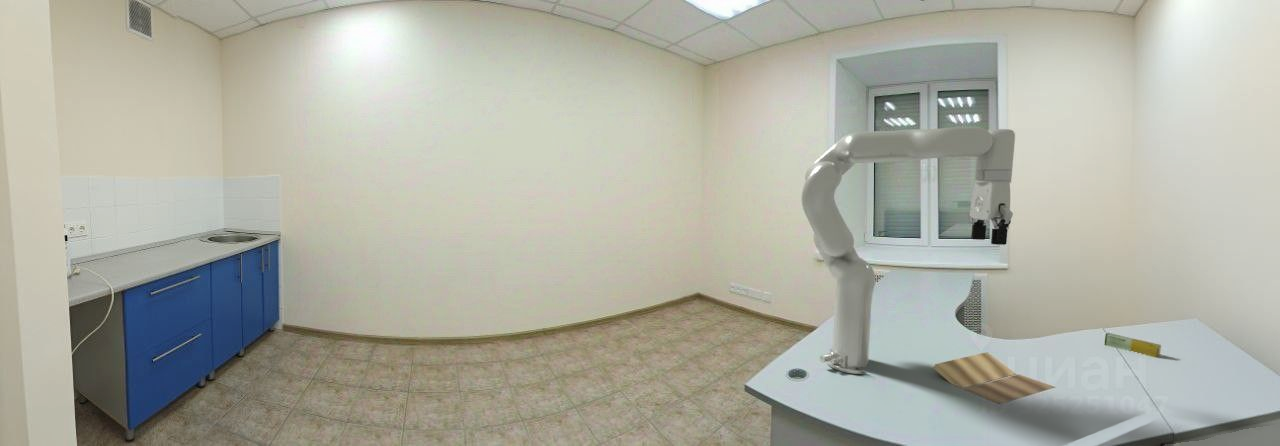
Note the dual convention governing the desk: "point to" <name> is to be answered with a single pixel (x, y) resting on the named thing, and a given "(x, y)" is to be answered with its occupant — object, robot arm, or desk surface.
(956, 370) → the oak plank
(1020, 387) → the walnut board
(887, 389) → the desk surface
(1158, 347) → the medication box
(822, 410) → the desk surface
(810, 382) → the desk surface
